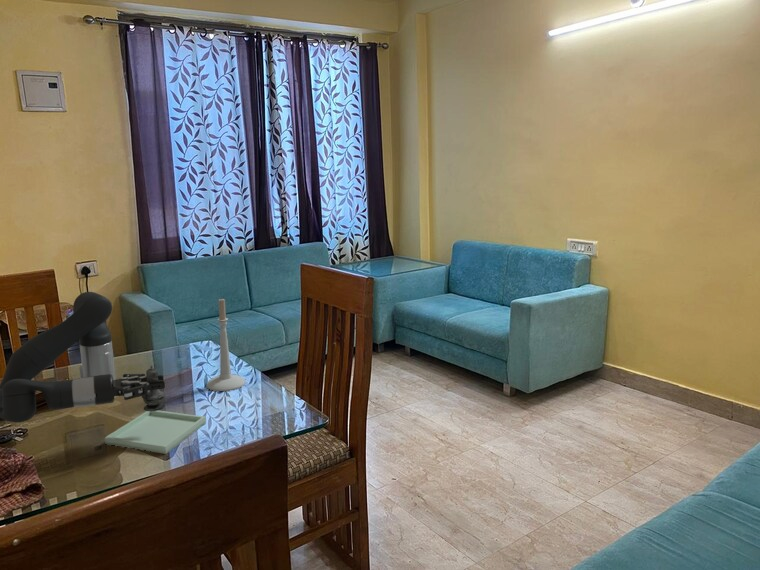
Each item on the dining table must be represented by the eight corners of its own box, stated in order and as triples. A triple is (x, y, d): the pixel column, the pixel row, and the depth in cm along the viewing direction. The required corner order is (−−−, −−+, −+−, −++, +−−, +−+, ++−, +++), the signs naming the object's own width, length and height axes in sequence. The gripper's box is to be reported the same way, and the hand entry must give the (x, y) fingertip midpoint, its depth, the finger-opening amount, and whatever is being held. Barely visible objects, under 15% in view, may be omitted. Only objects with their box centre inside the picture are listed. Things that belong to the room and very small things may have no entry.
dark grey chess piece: (157, 412, 152) (154, 370, 149) (137, 410, 153) (134, 368, 150) (169, 404, 157) (167, 362, 155) (150, 402, 159) (148, 361, 156)
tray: (105, 444, 151) (104, 437, 151) (150, 415, 169) (149, 409, 168) (166, 453, 146) (165, 446, 146) (206, 423, 164) (205, 416, 163)
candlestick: (252, 380, 197) (249, 295, 191) (231, 393, 185) (227, 304, 179) (221, 375, 201) (216, 292, 195) (198, 388, 189) (192, 300, 183)
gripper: (95, 394, 155) (162, 385, 162) (93, 414, 142) (167, 404, 149) (93, 368, 153) (161, 360, 160) (91, 386, 141) (165, 377, 148)
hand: (163, 381), depth 155 cm, fingers closed on dark grey chess piece, 3 cm apart
